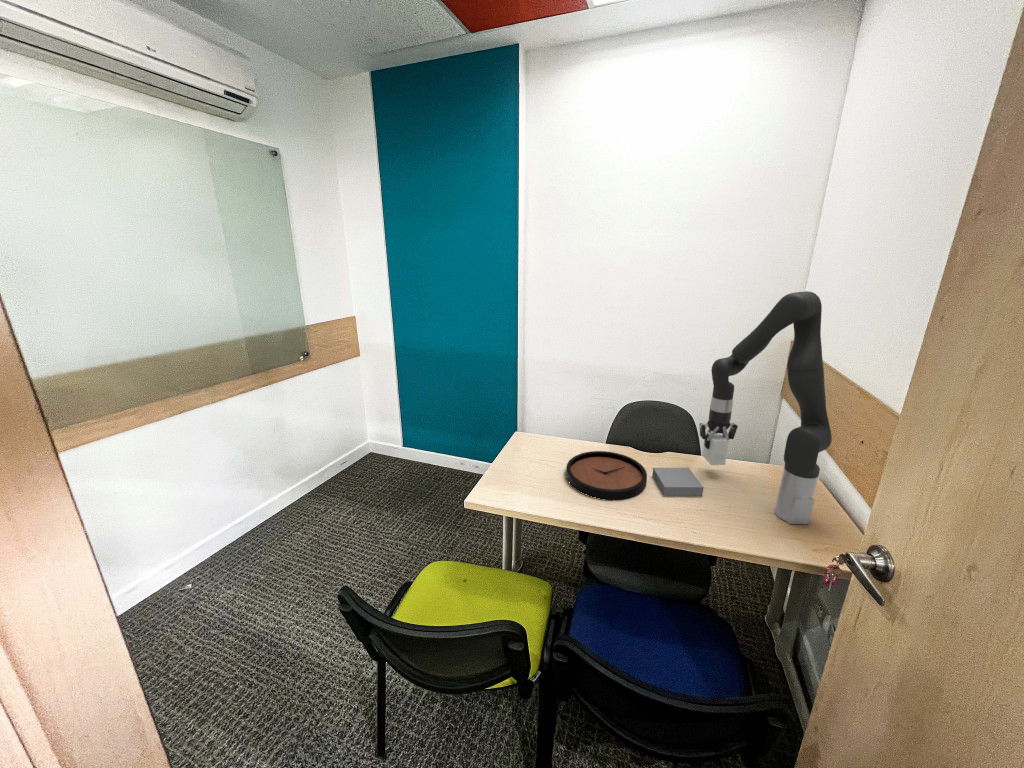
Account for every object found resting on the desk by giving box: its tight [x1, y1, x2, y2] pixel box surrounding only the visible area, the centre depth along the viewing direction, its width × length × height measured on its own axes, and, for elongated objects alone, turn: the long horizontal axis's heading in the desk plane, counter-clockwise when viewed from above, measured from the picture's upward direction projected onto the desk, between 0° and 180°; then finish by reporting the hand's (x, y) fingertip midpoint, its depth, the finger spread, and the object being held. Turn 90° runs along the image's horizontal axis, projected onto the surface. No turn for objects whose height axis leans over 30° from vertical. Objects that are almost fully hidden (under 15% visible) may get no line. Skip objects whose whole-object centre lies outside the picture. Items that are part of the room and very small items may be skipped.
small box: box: [702, 432, 729, 466], centre depth 158 cm, size 8×6×10 cm
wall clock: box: [565, 450, 648, 501], centre depth 159 cm, size 31×4×31 cm
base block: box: [652, 467, 704, 498], centre depth 153 cm, size 14×14×4 cm
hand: (715, 448), depth 157 cm, fingers closed on small box, 5 cm apart
